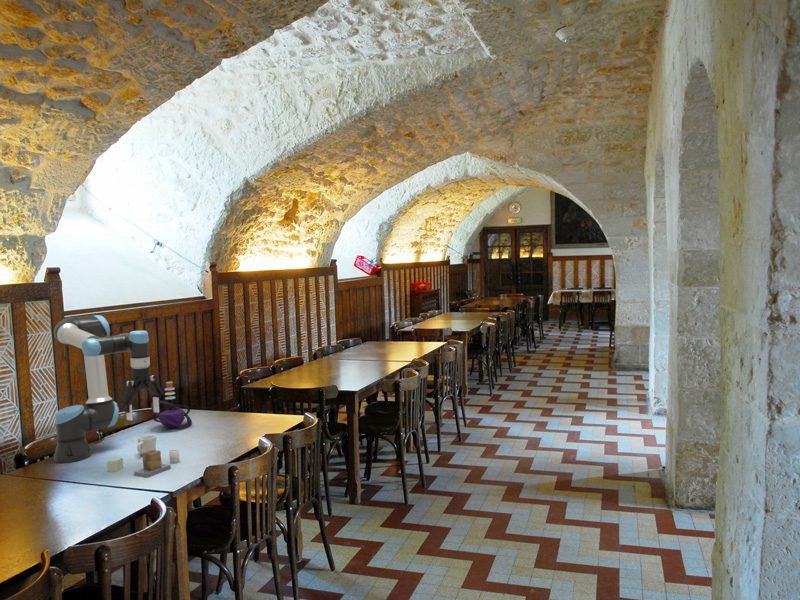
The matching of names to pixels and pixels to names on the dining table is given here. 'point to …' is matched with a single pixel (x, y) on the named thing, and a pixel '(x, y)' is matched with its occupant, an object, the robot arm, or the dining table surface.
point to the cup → (146, 443)
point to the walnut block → (151, 460)
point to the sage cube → (114, 464)
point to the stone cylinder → (174, 456)
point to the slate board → (150, 473)
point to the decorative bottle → (172, 412)
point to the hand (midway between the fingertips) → (143, 416)
